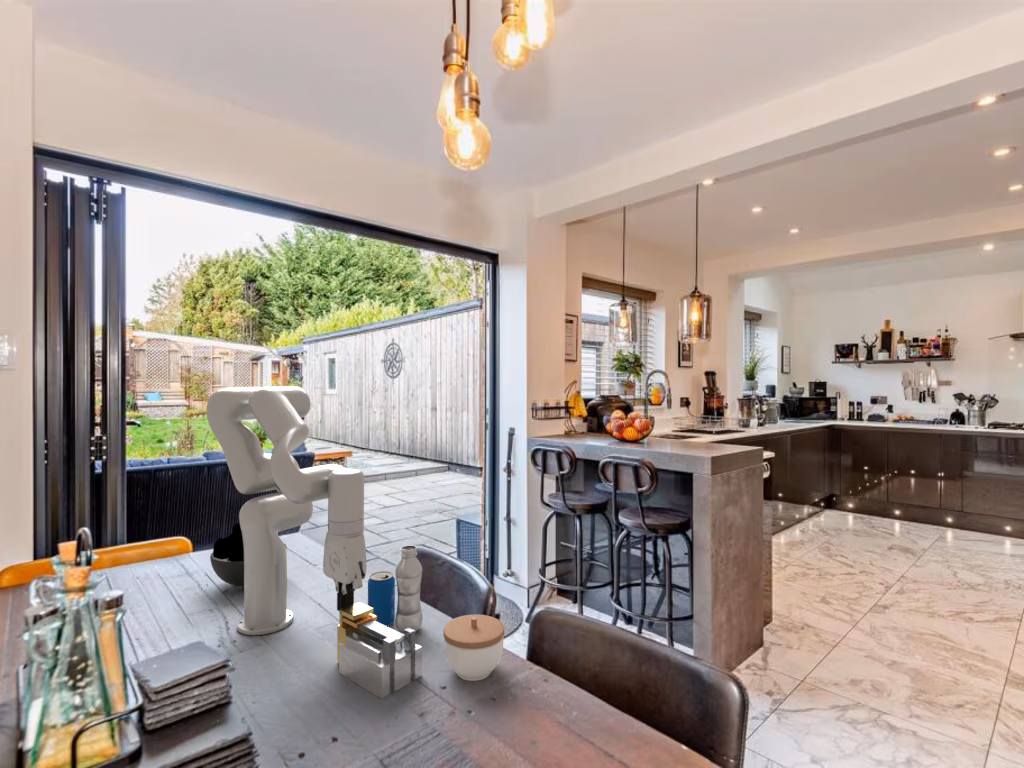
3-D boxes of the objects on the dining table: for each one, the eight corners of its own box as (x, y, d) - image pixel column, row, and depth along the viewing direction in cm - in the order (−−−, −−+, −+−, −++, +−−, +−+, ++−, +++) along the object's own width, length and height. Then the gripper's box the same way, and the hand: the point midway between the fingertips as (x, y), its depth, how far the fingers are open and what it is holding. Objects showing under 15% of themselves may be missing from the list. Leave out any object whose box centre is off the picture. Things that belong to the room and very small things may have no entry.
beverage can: (387, 631, 126) (388, 581, 126) (363, 628, 127) (363, 579, 127) (398, 619, 132) (399, 571, 132) (375, 616, 134) (375, 569, 133)
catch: (337, 662, 112) (337, 610, 112) (361, 651, 117) (361, 601, 117) (351, 670, 109) (351, 617, 109) (375, 658, 114) (375, 607, 113)
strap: (410, 638, 105) (410, 631, 105) (390, 648, 101) (390, 641, 101) (362, 615, 115) (362, 609, 115) (342, 624, 111) (342, 617, 111)
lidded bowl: (480, 696, 100) (481, 639, 100) (430, 676, 107) (430, 622, 107) (515, 666, 111) (515, 614, 111) (467, 649, 118) (467, 600, 118)
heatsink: (339, 672, 108) (339, 624, 108) (379, 653, 116) (379, 608, 116) (381, 699, 99) (381, 646, 99) (421, 675, 107) (422, 627, 107)
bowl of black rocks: (210, 604, 140) (210, 534, 140) (209, 579, 158) (209, 516, 157) (291, 589, 150) (291, 524, 150) (282, 567, 168) (282, 508, 167)
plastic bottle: (427, 626, 128) (427, 544, 128) (413, 639, 122) (413, 553, 122) (404, 622, 131) (404, 542, 130) (389, 634, 124) (389, 550, 124)
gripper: (311, 523, 117) (311, 605, 117) (351, 537, 107) (350, 626, 108) (341, 516, 123) (340, 594, 123) (381, 529, 113) (380, 613, 114)
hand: (345, 609), depth 115 cm, fingers closed
